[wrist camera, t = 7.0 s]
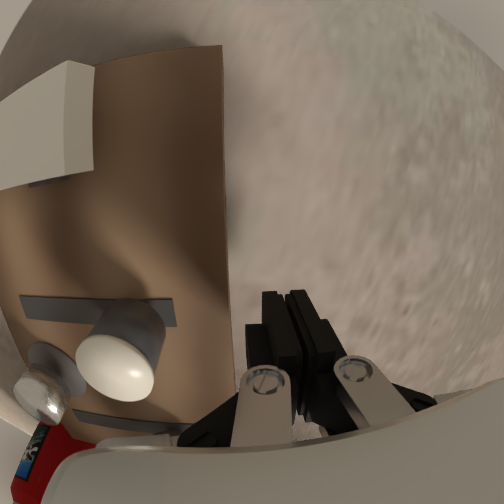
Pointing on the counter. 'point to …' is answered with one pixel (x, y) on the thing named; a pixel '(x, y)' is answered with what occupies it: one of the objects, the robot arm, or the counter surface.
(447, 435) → the robot arm
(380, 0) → the counter surface
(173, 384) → the console
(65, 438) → the beverage can
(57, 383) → the button
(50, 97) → the block
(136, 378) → the lever ivory
